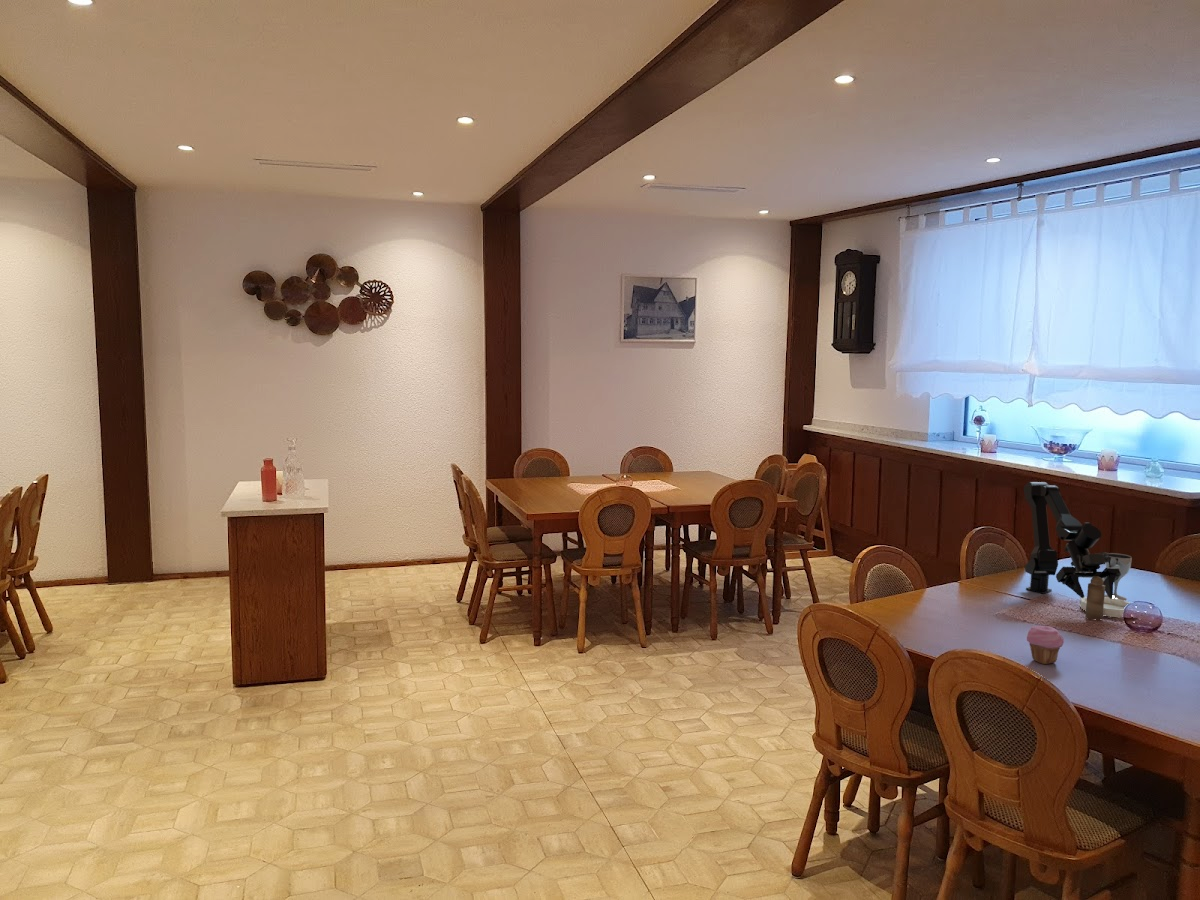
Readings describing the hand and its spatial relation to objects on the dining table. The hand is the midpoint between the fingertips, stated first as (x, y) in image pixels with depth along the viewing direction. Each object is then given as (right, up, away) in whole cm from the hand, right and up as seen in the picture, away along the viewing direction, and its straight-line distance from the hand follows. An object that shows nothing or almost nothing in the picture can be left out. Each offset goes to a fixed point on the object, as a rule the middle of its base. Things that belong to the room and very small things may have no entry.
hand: (1097, 597), depth 278 cm
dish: (+9, -6, +10) cm, 15 cm away
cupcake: (-38, -11, -41) cm, 57 cm away
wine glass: (+22, -5, +28) cm, 36 cm away
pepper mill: (0, -7, +2) cm, 7 cm away
